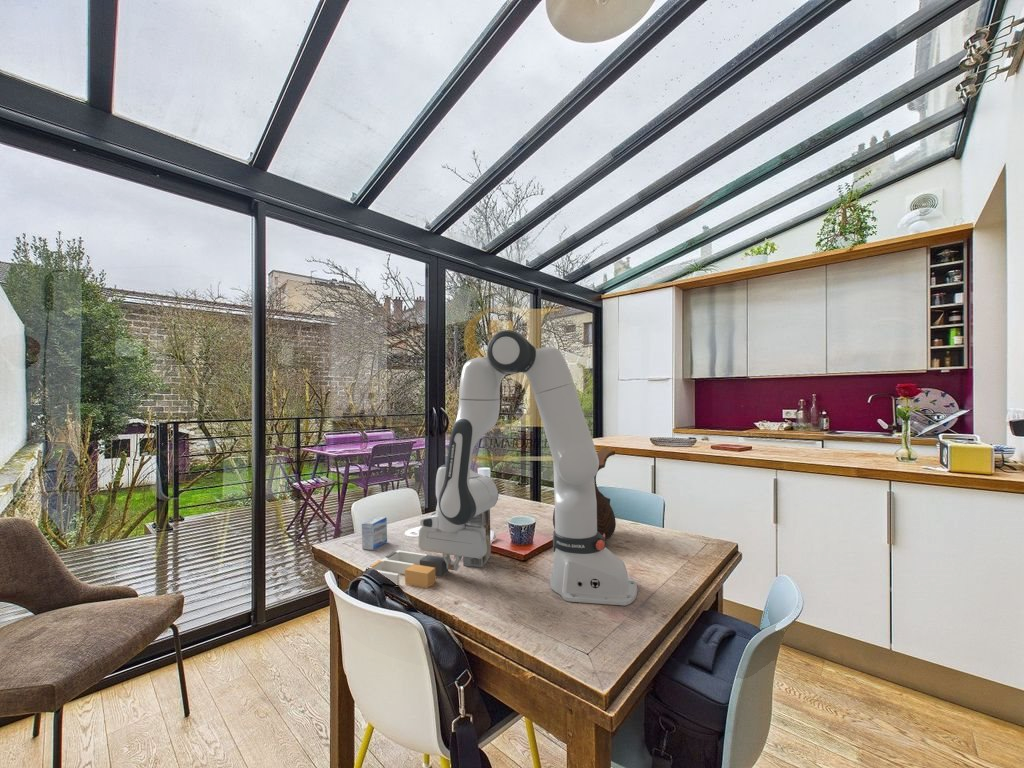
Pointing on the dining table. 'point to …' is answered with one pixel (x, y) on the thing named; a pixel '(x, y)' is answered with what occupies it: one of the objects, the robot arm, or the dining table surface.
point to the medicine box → (374, 533)
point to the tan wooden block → (420, 576)
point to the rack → (397, 564)
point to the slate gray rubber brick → (435, 564)
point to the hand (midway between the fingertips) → (452, 569)
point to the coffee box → (485, 521)
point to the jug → (602, 502)
